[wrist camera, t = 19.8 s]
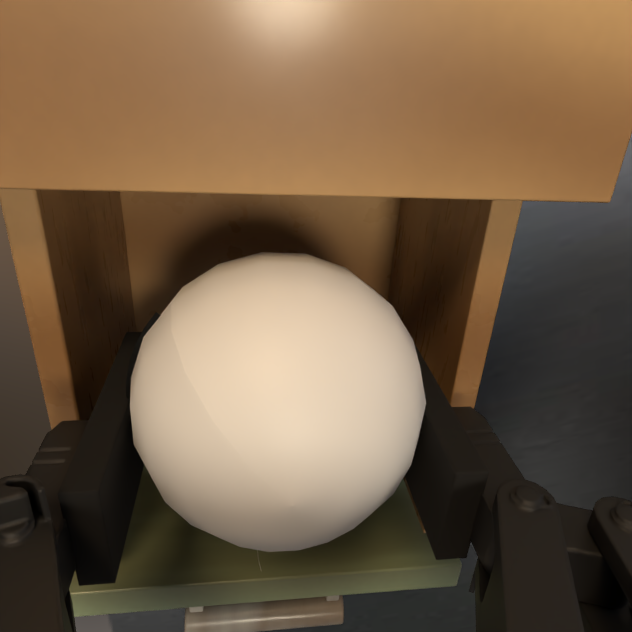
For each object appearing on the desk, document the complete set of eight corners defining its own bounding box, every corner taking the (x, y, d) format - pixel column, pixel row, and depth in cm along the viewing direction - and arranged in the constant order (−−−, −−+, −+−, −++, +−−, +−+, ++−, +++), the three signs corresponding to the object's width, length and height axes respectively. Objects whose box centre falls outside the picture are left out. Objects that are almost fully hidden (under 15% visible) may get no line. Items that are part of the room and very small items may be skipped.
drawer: (381, 517, 29) (430, 686, 22) (134, 532, 28) (90, 722, 20) (448, 75, 19) (590, 92, 11) (62, 54, 17) (-88, 55, 10)
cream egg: (176, 183, 14) (119, 294, 8) (419, 252, 16) (540, 388, 9) (119, 459, 18) (50, 687, 12) (319, 488, 20) (356, 699, 13)
